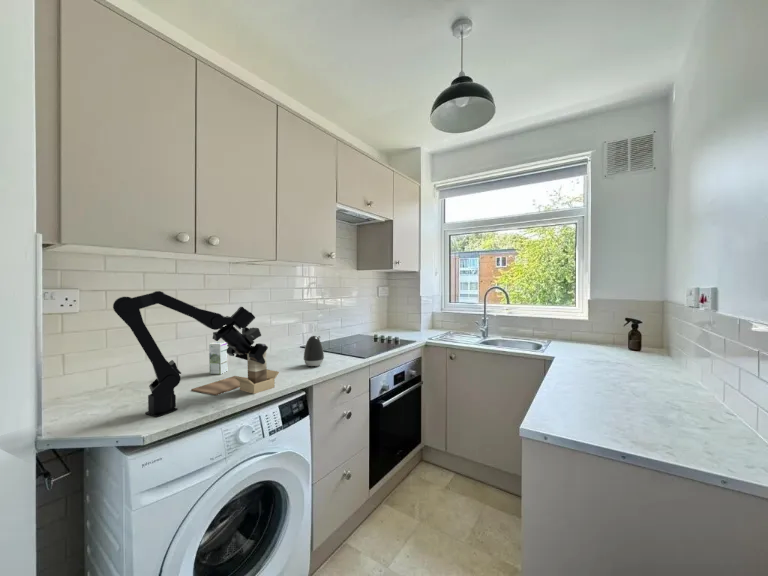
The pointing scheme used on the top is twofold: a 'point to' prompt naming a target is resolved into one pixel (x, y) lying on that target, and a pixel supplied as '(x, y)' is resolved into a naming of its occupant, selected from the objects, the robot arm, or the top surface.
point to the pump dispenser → (313, 352)
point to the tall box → (257, 370)
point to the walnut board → (219, 386)
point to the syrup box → (218, 357)
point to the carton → (258, 387)
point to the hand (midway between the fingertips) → (260, 362)
